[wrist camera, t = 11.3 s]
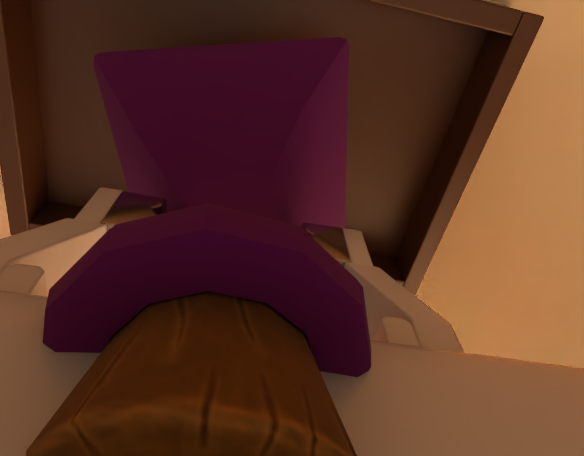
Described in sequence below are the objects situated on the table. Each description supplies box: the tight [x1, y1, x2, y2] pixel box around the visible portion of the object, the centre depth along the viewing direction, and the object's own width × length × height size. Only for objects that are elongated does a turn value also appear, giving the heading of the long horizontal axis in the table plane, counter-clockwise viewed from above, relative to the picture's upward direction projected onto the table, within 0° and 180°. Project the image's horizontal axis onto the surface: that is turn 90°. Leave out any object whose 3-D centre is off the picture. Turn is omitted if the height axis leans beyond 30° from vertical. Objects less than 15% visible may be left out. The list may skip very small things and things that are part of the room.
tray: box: [0, 0, 544, 295], centre depth 18 cm, size 19×13×2 cm
